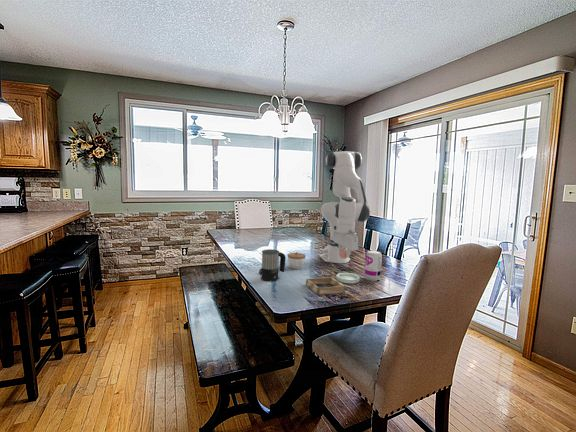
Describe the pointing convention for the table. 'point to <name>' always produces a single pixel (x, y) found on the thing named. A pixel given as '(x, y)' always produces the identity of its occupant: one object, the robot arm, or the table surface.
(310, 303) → the table surface
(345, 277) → the saucer
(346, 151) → the robot arm
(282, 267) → the milk frother
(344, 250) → the ball
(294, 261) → the lidded jar
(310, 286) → the wooden square frame
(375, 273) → the soda can
